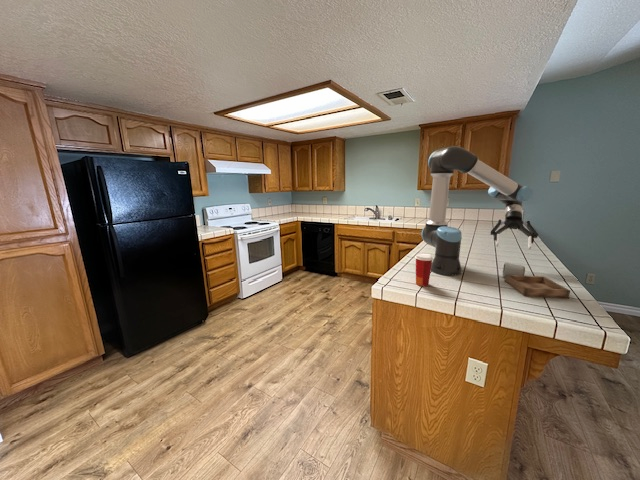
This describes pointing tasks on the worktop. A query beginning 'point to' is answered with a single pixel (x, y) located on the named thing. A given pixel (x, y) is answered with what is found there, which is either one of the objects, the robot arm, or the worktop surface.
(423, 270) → the paper cup
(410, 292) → the worktop surface
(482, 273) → the worktop surface
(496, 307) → the worktop surface
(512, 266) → the ceramic mug
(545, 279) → the tray
